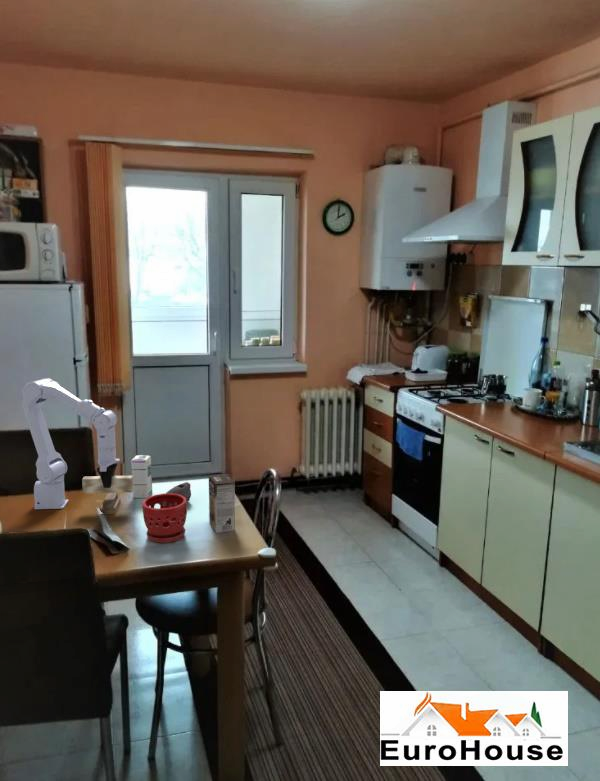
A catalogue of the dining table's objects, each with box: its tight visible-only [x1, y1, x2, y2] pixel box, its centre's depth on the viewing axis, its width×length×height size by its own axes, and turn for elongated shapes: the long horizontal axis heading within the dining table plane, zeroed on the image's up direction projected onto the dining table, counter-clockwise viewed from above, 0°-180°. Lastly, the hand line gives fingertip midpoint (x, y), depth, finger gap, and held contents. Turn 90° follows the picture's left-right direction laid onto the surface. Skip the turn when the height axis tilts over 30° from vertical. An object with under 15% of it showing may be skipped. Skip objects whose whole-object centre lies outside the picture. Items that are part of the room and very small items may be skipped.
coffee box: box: [208, 473, 236, 534], centre depth 195 cm, size 9×6×16 cm
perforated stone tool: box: [162, 481, 192, 506], centre depth 213 cm, size 15×5×7 cm, turn 149°
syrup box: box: [130, 454, 153, 499], centre depth 223 cm, size 6×6×14 cm
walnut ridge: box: [99, 493, 122, 515], centre depth 210 cm, size 5×10×4 cm, turn 7°
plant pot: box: [141, 492, 188, 544], centre depth 186 cm, size 13×13×12 cm
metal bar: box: [81, 474, 133, 494], centre depth 208 cm, size 16×3×5 cm, turn 96°
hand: (108, 485), depth 208 cm, fingers closed on metal bar, 3 cm apart
